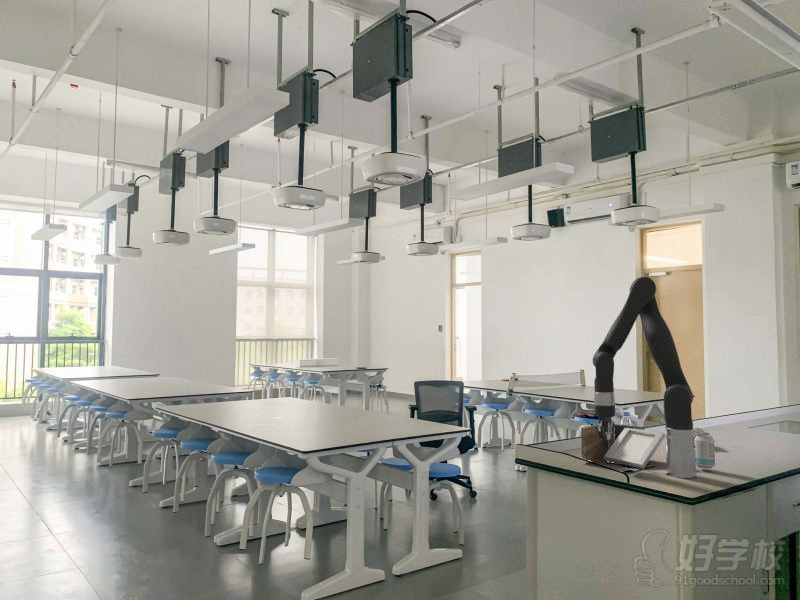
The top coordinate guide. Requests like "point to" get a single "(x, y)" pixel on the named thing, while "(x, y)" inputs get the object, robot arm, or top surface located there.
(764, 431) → the top surface
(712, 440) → the beverage can
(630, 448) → the picture frame
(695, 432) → the pumice stone
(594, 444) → the shelf back
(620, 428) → the bookend
